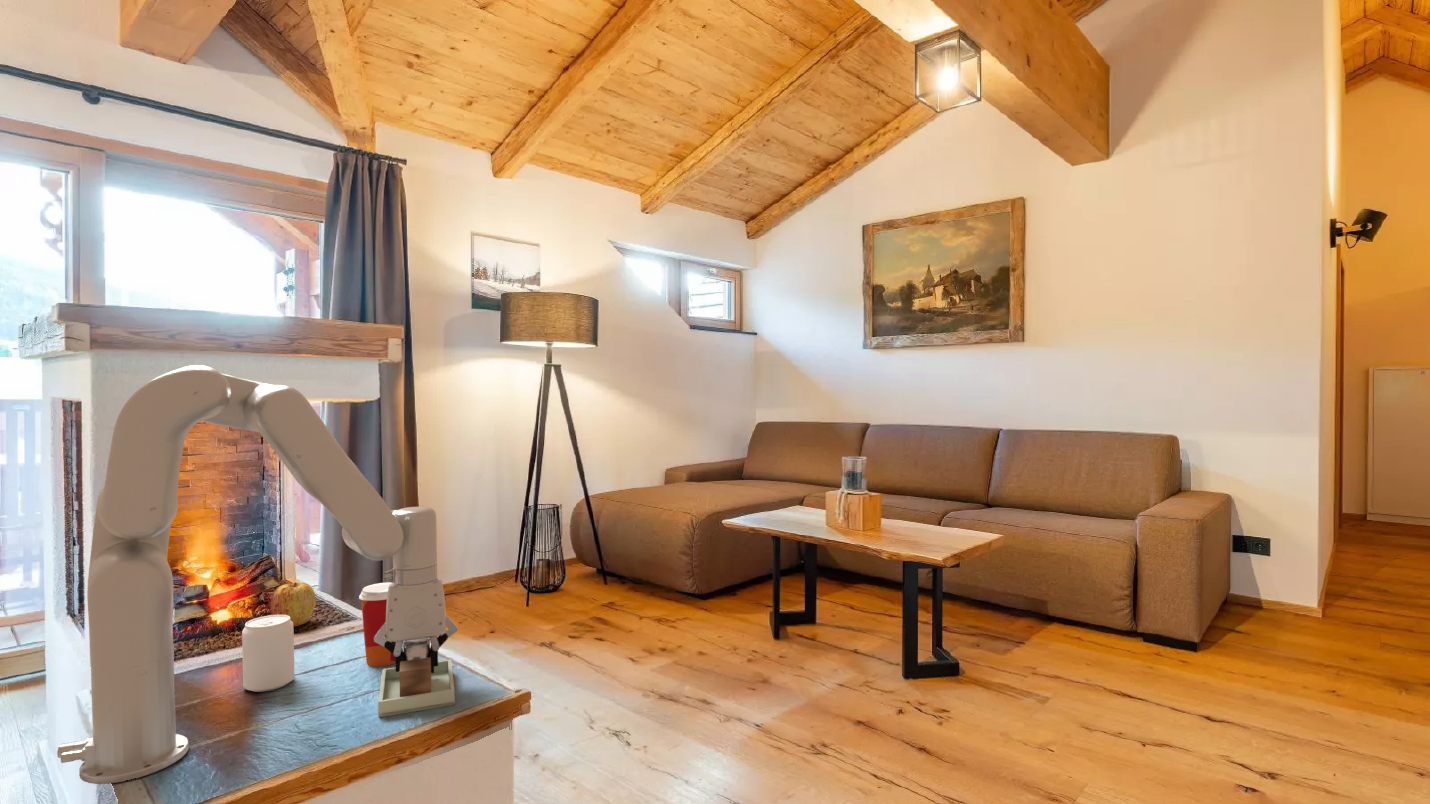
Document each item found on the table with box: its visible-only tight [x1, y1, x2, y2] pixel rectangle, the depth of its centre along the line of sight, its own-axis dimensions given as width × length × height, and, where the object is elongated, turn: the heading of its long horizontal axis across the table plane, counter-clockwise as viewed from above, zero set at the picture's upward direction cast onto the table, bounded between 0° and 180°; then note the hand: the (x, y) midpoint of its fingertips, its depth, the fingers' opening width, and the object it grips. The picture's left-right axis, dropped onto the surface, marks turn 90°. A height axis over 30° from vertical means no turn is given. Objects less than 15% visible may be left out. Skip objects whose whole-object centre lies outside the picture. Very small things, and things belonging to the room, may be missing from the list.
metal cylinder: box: [402, 638, 431, 661], centre depth 133 cm, size 4×4×6 cm
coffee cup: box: [358, 581, 396, 668], centre depth 144 cm, size 8×8×15 cm
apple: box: [270, 582, 317, 628], centre depth 166 cm, size 9×9×10 cm
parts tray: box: [377, 658, 456, 718], centre depth 129 cm, size 12×15×3 cm
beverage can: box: [241, 614, 296, 693], centre depth 133 cm, size 8×8×12 cm
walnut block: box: [399, 657, 431, 697], centre depth 126 cm, size 5×5×6 cm
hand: (417, 671), depth 133 cm, fingers closed on metal cylinder, 4 cm apart
